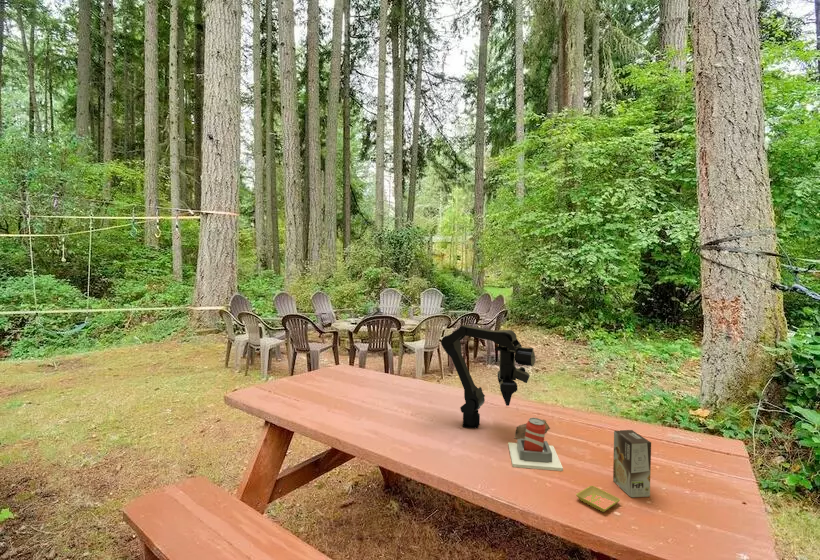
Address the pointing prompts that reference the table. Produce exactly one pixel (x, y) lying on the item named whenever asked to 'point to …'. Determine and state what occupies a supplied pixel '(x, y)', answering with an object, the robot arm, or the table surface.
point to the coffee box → (632, 463)
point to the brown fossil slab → (522, 430)
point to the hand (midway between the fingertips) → (506, 401)
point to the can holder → (534, 457)
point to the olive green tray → (595, 491)
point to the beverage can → (534, 435)
